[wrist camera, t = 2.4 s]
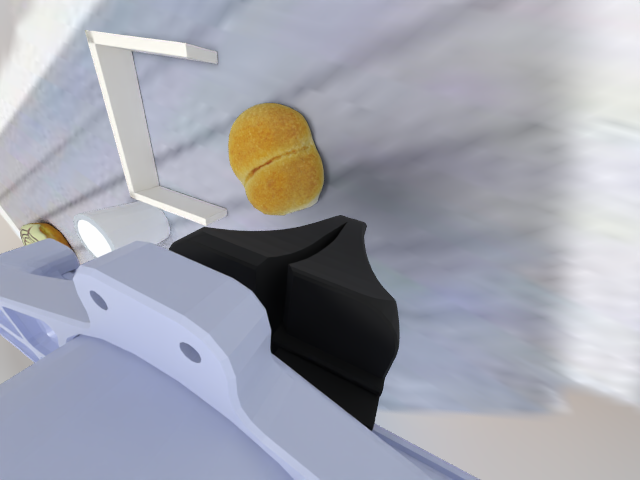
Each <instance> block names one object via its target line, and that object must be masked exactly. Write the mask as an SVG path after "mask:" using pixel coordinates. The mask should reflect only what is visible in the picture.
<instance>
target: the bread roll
mask: <svg viewBox="0 0 640 480" xmlns="http://www.w3.org/2000/svg"><path fill="white" fill-rule="evenodd" d="M228 148H229V160H230V165H231V167H232V169H233V171H234V173H235V175H236V176H237V178H238V179H239V180H240V181H241V183H242V184H243V185H244V187H245V191H246V195H247V198H248V200H249V201H250V202H251V204H252V205H253V206H254V207H255V208H256V209H258V210H259V211H261V212H263V213H264V214H268V215H286V214H288V213H292V212H295V211H299V210H302V209H305V208H307V207H311V206H313V205H314V204H316V203H317V201H318V199H319V195H320V192H321V190H322V187H323V183H324V169H323V164H322V160H321V157H320V155H319V153H318V151H317V149H316V146H315V144H314V141H313V139H312V135H311V131H310V128H309V126H308V124H307V122H306V120H305V118H304V117H303V116H302V115H301V114H300V113H299V112H297V111H295V110H294V109H292V108H290V107H287V106H284V105H281V104H276V103H263V104H257V105H255V106H253V107H250V108H248V109H247V110H246V111H244V112H243V113H242V114H240V115H239V117H238V118H237V119H236V121H235V122H234V124H233V126H232V128H231V131H230V135H229V143H228Z"/></svg>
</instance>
